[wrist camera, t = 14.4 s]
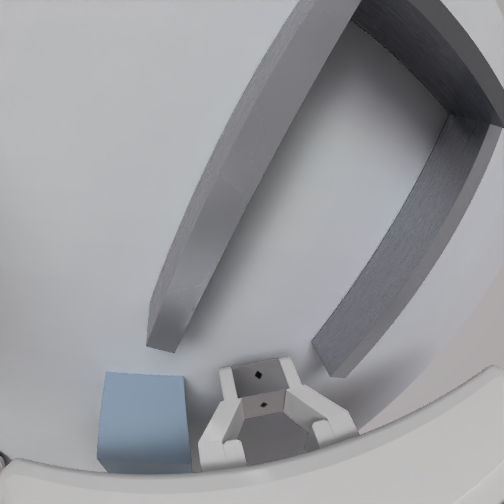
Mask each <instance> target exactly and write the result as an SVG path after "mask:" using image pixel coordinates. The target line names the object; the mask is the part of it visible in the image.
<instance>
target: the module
mask: <svg viewBox="0 0 504 504" xmlns="http://www.w3.org/2000/svg"><path fill="white" fill-rule="evenodd" d="M97 459H98V460H99V462H100V463H101V464H102V466H103V467H104V468H105V469H106V471H107V472H108V473H119V474H182V473H192V459H191V451H190V443H189V434H188V425H187V415H186V404H185V392H184V378H183V376H166V375H144V374H129V373H117V372H106V376H105V383H104V390H103V397H102V405H101V413H100V423H99V433H98V446H97Z"/></svg>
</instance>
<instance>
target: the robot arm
mask: <svg viewBox="0 0 504 504" xmlns="http://www.w3.org/2000/svg"><path fill="white" fill-rule="evenodd" d="M219 376H220V382H221V387H222V393H223V398H224V401H220V403H219V405H218V407H217V409H216V411H215V413H214V414H213V416H212V418H211V420H210V422H209V424H208V426H207V427H206V429H205V431H204V433H203V435H202V437H201V438H200V440H199V442H198V449H199V457H200V464H201V471H202V472H196V473H182V474H119V473H105V472H95V471H86V470H79V469H72V468H65V467H60V466H54V465H49V464H44V463H40V462H35V461H31V460H28V459H24V458H15V459H14V460H13V461H11V462H10V463H9V464H8V465H7V466H5V462H4V459H3V458H2V457H1V456H0V504H504V368H501V367H499V366H495V365H490V366H488V367H486V368H485V369H484V370H482V371H481V372H479V373H478V374H476V375H475V376H473V377H472V378H470V379H469V380H467V381H466V382H464V383H463V384H461V385H460V386H458V387H457V388H455V389H453V390H452V391H450V392H448V393H446V394H445V395H443V396H441V397H439V398H438V399H436V400H434V401H433V402H431V403H429V404H427V405H425V406H423V407H421V408H419V409H417V410H415V411H413V412H411V413H409V414H407V415H405V416H403V417H401V418H399V419H397V420H395V421H392V422H390V423H388V424H386V425H383V426H381V427H379V428H376V429H374V430H371V431H369V432H367V433H364V434H361V435H359V433H358V430H357V428H356V426H355V424H354V422H353V420H352V418H351V416H350V414H349V412H348V411H347V410H345V409H344V408H342V407H340V406H339V405H337V404H335V403H334V402H332V401H331V400H329V399H327V398H326V397H324V396H323V395H321V394H320V393H318V392H316V391H315V390H313V389H312V388H310V387H309V386H307V385H302V383H301V380H300V378H299V376H298V373H297V371H296V368H295V366H294V364H293V361H292V359H291V357H290V356H286V357H281V358H275V359H270V360H265V361H260V362H255V363H251V364H244V365H237V366H230V367H223V368H219ZM278 412H284V413H285V414H286V415H287V416H288V417H290V418H291V419H292V420H293V421H294V422H296V423H297V424H298V425H299V426H300V427H302V428H303V429H304V430H305V431H307V432H308V433H309V436H308V439H307V442H306V444H305V447H304V448H305V451H306V453H304V454H300V455H296V456H292V457H288V458H284V459H280V460H275V461H271V462H266V463H261V464H256V465H250V466H247V463H246V459H245V455H244V451H243V447H242V443H241V441H239V440H237V438H238V435H239V433H240V430H241V428H242V425H243V423H244V419H248V418H253V417H257V416H262V415H267V414H273V413H278Z"/></svg>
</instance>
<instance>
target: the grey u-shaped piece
mask: <svg viewBox="0 0 504 504" xmlns="http://www.w3.org/2000/svg"><path fill="white" fill-rule="evenodd" d="M350 19H351V20H352V21H353V22H355V23H356V24H357V25H359V26H360V27H361V28H362V29H364V30H365V31H366V32H368V33H369V34H370V35H371V36H372V37H374V38H375V39H376V40H377V41H379V42H380V43H381V44H382V45H383V46H384V47H385V48H387V49H388V50H389V51H390V52H391V53H392V54H393V55H394V56H396V57H397V58H398V59H399V60H400V61H401V62H402V63H403V64H404V65H405V66H406V67H407V68H408V69H409V70H410V71H411V72H412V73H413V74H414V75H415V76H416V77H417V78H418V79H419V80H420V81H421V82H422V83H423V84H424V85H425V86H426V87H427V89H428V90H429V91H430V92H431V93H432V94H433V95H434V96H435V97H436V99H437V100H438V101H439V102H440V103H441V104H442V106H443V107H444V108H445V109H446V110H447V112H448V113H449V117H448V119H447V121H446V123H445V126H444V128H443V130H442V132H441V134H440V137H439V139H438V141H437V143H436V145H435V147H434V149H433V151H432V153H431V155H430V157H429V159H428V161H427V163H426V165H425V167H424V169H423V171H422V173H421V175H420V177H419V178H418V180H417V182H416V184H415V186H414V188H413V190H412V191H411V193H410V195H409V197H408V199H407V200H406V202H405V204H404V206H403V207H402V209H401V211H400V213H399V214H398V216H397V218H396V219H395V221H394V223H393V224H392V226H391V228H390V229H389V231H388V233H387V234H386V236H385V237H384V239H383V241H382V242H381V244H380V245H379V247H378V249H377V250H376V252H375V253H374V255H373V256H372V258H371V259H370V261H369V262H368V264H367V265H366V267H365V269H364V270H363V271H362V273H361V274H360V276H359V277H358V279H357V280H356V282H355V283H354V285H353V286H352V288H351V289H350V290H349V292H348V293H347V295H346V296H345V297H344V299H343V300H342V302H341V303H340V304H339V306H338V307H337V309H336V310H335V311H334V313H333V314H332V315H331V317H330V318H329V319H328V321H327V322H326V323H325V325H324V326H323V327H322V329H321V330H320V331H319V333H318V334H317V335H316V336H315V338H314V339H313V340H312V342H313V344H314V346H315V348H316V350H317V352H318V354H319V356H320V358H321V360H322V362H323V364H324V366H325V368H326V370H327V372H328V374H329V376H330V377H339V378H345V377H346V376H347V375H348V374H349V373H350V372H351V371H352V370H353V369H354V368H355V367H356V366H357V365H358V363H359V362H360V361H361V360H362V359H363V358H364V357H365V356H366V355H367V353H368V352H369V351H370V350H371V349H372V348H373V346H374V345H375V344H376V343H377V342H378V341H379V339H380V338H381V337H382V336H383V335H384V333H385V332H386V331H387V330H388V328H389V327H390V326H391V325H392V323H393V322H394V321H395V320H396V318H397V317H398V316H399V314H400V313H401V312H402V310H403V309H404V308H405V306H406V305H407V304H408V302H409V301H410V300H411V298H412V297H413V296H414V294H415V293H416V291H417V290H418V289H419V287H420V286H421V284H422V283H423V281H424V280H425V278H426V277H427V275H428V274H429V272H430V271H431V269H432V268H433V266H434V265H435V263H436V262H437V260H438V259H439V257H440V255H441V254H442V252H443V251H444V249H445V247H446V246H447V244H448V242H449V241H450V239H451V237H452V235H453V234H454V232H455V230H456V229H457V227H458V225H459V223H460V221H461V220H462V218H463V216H464V214H465V212H466V210H467V208H468V206H469V204H470V202H471V200H472V198H473V196H474V194H475V192H476V190H477V188H478V186H479V184H480V182H481V180H482V178H483V175H484V173H485V171H486V169H487V166H488V164H489V162H490V159H491V157H492V154H493V152H494V149H495V147H496V144H497V141H498V139H499V136H500V133H501V131H502V128H504V89H503V87H502V86H501V84H500V82H499V80H498V79H497V77H496V75H495V74H494V72H493V70H492V69H491V67H490V65H489V64H488V62H487V61H486V59H485V58H484V56H483V55H482V53H481V52H480V50H479V49H478V47H477V46H476V44H475V43H474V42H473V40H472V39H471V38H470V36H469V35H468V34H467V32H466V31H465V30H464V28H463V27H462V26H461V24H460V23H459V22H458V21H457V20H456V18H455V17H454V16H453V15H452V14H451V12H450V11H449V10H448V9H447V8H446V7H445V5H444V4H443V3H442V2H441V1H440V0H300V1H299V2H298V4H297V5H296V7H295V8H294V10H293V11H292V13H291V14H290V16H289V18H288V19H287V21H286V22H285V24H284V25H283V27H282V28H281V30H280V32H279V33H278V35H277V36H276V38H275V40H274V41H273V43H272V45H271V46H270V48H269V50H268V51H267V53H266V55H265V56H264V58H263V60H262V61H261V63H260V65H259V67H258V68H257V70H256V72H255V74H254V75H253V77H252V79H251V81H250V82H249V84H248V86H247V88H246V90H245V91H244V93H243V95H242V97H241V99H240V101H239V102H238V104H237V106H236V108H235V110H234V112H233V114H232V116H231V118H230V120H229V122H228V123H227V125H226V127H225V129H224V131H223V133H222V135H221V137H220V139H219V141H218V143H217V145H216V147H215V149H214V151H213V154H212V156H211V158H210V160H209V162H208V164H207V166H206V168H205V170H204V172H203V175H202V177H201V179H200V181H199V183H198V185H197V188H196V190H195V192H194V194H193V197H192V199H191V201H190V203H189V206H188V208H187V210H186V212H185V215H184V217H183V219H182V222H181V224H180V227H179V229H178V231H177V234H176V236H175V239H174V241H173V244H172V246H171V249H170V251H169V254H168V256H167V259H166V261H165V264H164V266H163V269H162V271H161V274H160V277H159V279H158V282H157V285H156V287H155V290H154V293H153V296H152V298H151V301H150V309H149V319H148V329H147V341H146V346H148V347H151V348H155V349H159V350H163V351H167V352H172V353H175V351H176V349H177V347H178V345H179V343H180V341H181V339H182V336H183V334H184V332H185V330H186V328H187V326H188V324H189V322H190V320H191V318H192V316H193V314H194V311H195V309H196V307H197V305H198V303H199V301H200V299H201V297H202V295H203V293H204V291H205V289H206V287H207V285H208V283H209V281H210V279H211V277H212V275H213V273H214V271H215V269H216V267H217V265H218V263H219V261H220V259H221V257H222V255H223V253H224V251H225V249H226V247H227V245H228V243H229V241H230V239H231V237H232V235H233V233H234V231H235V229H236V227H237V225H238V223H239V221H240V219H241V217H242V215H243V213H244V211H245V209H246V207H247V206H248V204H249V202H250V200H251V198H252V196H253V194H254V192H255V190H256V188H257V186H258V184H259V182H260V181H261V179H262V177H263V175H264V173H265V171H266V169H267V167H268V165H269V164H270V162H271V160H272V158H273V156H274V154H275V152H276V150H277V149H278V147H279V145H280V143H281V141H282V139H283V137H284V135H285V134H286V132H287V130H288V128H289V126H290V124H291V123H292V121H293V119H294V117H295V115H296V113H297V112H298V110H299V108H300V106H301V104H302V103H303V101H304V99H305V97H306V95H307V94H308V92H309V90H310V88H311V86H312V85H313V83H314V81H315V79H316V77H317V76H318V74H319V72H320V70H321V69H322V67H323V65H324V63H325V62H326V60H327V58H328V56H329V55H330V53H331V51H332V49H333V48H334V46H335V44H336V42H337V41H338V39H339V37H340V36H341V34H342V32H343V30H344V29H345V27H346V25H347V24H348V22H349V20H350Z"/></svg>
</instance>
